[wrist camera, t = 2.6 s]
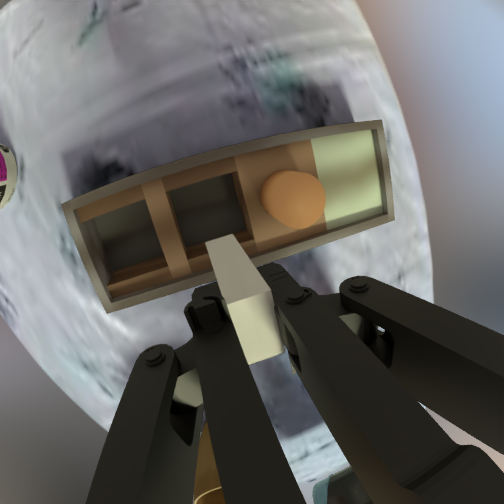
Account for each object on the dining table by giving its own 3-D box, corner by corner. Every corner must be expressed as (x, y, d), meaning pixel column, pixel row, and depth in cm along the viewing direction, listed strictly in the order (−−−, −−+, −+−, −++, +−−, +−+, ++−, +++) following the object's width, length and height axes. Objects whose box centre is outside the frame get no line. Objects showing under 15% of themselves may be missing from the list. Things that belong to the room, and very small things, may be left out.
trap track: (368, 210, 36) (394, 219, 31) (116, 290, 31) (106, 313, 26) (355, 122, 32) (381, 119, 27) (79, 196, 27) (61, 204, 22)
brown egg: (311, 212, 29) (329, 220, 26) (266, 225, 29) (279, 235, 25) (302, 165, 27) (320, 167, 24) (255, 176, 27) (267, 180, 23)
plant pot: (259, 442, 47) (283, 506, 33) (183, 446, 43) (194, 517, 29) (273, 394, 43) (308, 470, 28) (182, 398, 39) (193, 486, 24)
